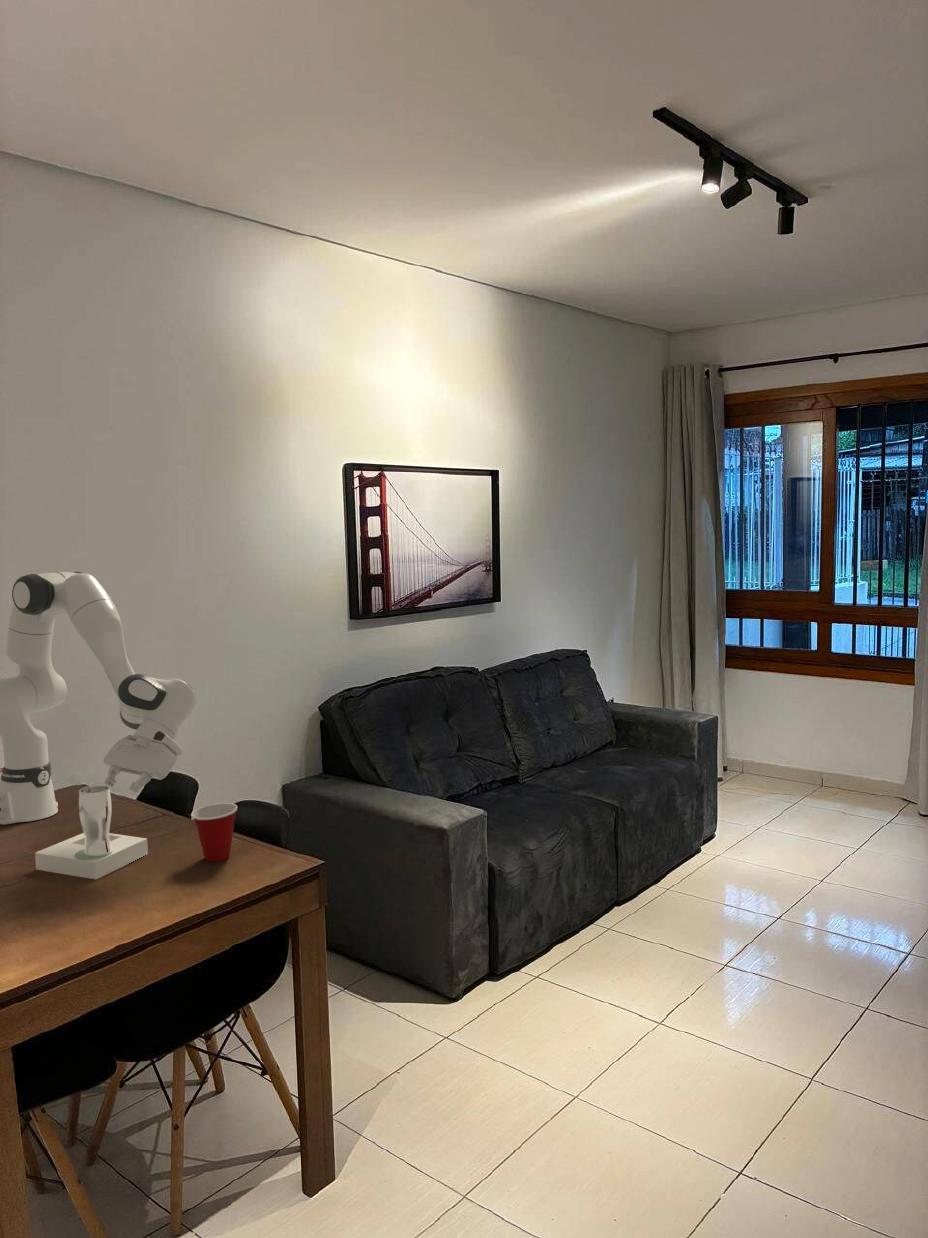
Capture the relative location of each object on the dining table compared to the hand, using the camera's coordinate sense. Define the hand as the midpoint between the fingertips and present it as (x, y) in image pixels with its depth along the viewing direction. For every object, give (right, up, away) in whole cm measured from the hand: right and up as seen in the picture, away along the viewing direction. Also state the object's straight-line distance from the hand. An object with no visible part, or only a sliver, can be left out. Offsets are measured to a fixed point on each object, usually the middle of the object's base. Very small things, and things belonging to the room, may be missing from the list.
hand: (120, 788), depth 220 cm
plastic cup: (+22, -17, +2) cm, 28 cm away
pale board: (-7, -18, +1) cm, 19 cm away
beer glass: (-3, -14, -5) cm, 15 cm away
